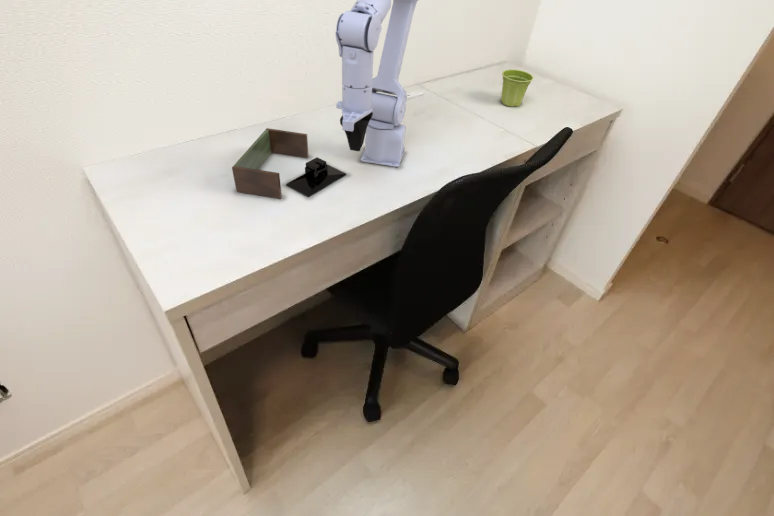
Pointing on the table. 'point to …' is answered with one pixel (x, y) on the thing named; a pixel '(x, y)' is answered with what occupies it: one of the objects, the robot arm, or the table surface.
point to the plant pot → (514, 86)
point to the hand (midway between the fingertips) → (356, 148)
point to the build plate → (315, 177)
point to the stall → (255, 156)
